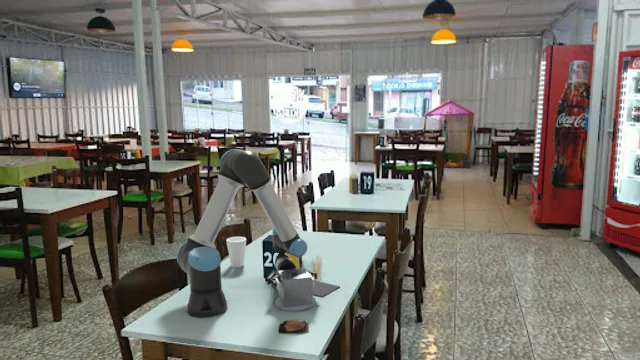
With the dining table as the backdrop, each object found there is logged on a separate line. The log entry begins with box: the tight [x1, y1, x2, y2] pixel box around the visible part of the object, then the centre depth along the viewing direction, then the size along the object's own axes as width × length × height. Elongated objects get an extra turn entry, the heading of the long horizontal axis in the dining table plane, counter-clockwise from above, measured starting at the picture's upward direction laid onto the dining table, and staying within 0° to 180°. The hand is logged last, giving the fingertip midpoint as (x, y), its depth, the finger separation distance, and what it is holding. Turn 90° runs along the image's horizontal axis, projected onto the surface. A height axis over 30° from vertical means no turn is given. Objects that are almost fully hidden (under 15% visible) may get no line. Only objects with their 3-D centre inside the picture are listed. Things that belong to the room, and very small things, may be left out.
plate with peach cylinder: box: [274, 295, 317, 313], centre depth 199 cm, size 16×16×5 cm
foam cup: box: [226, 236, 247, 268], centre depth 246 cm, size 10×9×13 cm
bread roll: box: [277, 319, 310, 335], centre depth 177 cm, size 11×8×4 cm
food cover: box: [277, 267, 313, 308], centre depth 198 cm, size 11×11×13 cm
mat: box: [312, 280, 341, 298], centre depth 214 cm, size 13×13×1 cm
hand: (296, 285), depth 195 cm, fingers open, 13 cm apart
